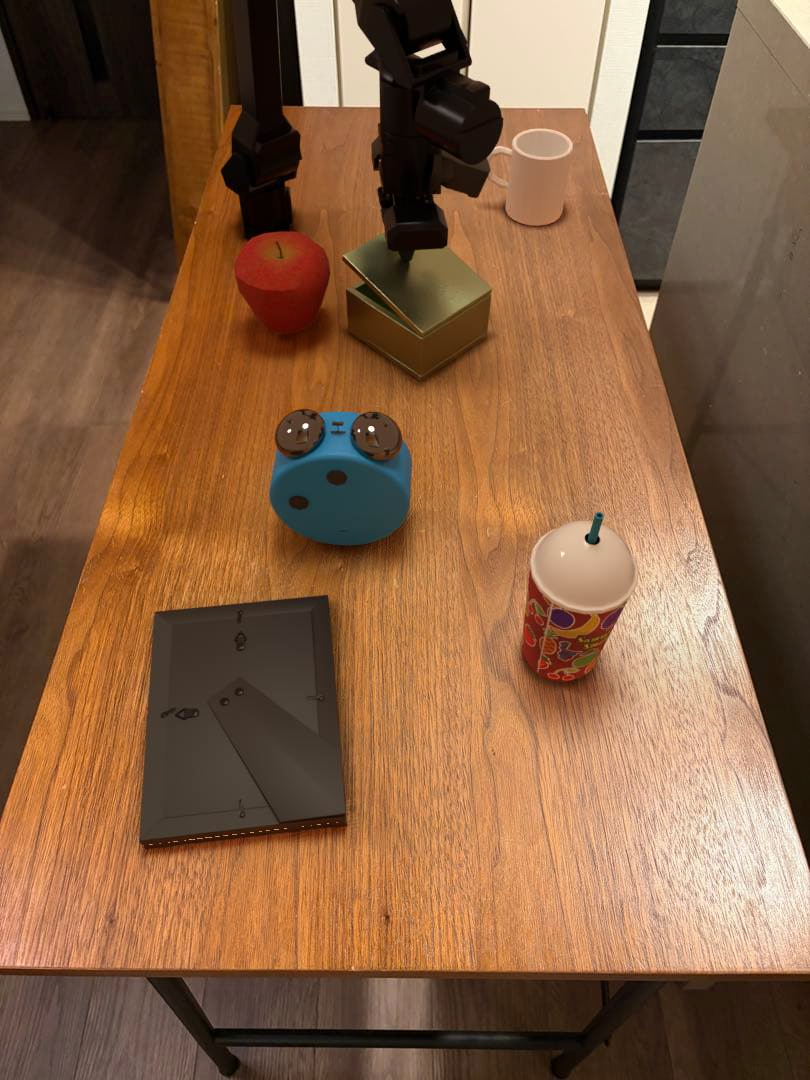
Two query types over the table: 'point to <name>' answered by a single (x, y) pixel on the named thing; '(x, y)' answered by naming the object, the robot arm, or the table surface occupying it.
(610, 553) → the smoothie
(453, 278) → the lid
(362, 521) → the alarm clock
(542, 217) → the mug
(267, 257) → the apple
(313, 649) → the picture frame
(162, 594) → the table surface
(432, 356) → the brass box
